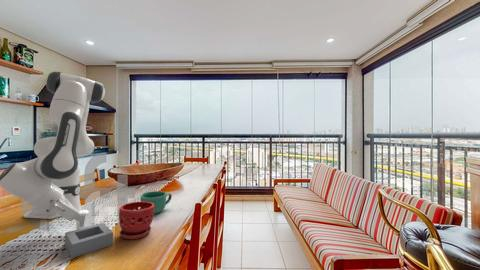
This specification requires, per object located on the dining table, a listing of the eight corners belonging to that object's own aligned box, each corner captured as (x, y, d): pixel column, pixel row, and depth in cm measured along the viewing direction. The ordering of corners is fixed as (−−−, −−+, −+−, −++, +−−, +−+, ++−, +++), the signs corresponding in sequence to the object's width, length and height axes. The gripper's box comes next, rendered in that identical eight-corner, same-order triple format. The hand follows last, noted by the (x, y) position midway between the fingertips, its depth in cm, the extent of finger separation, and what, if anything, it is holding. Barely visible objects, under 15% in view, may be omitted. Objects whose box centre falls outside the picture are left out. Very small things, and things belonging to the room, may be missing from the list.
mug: (144, 218, 101) (145, 199, 101) (137, 211, 110) (137, 193, 110) (176, 210, 112) (176, 193, 112) (167, 204, 121) (167, 188, 121)
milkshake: (77, 230, 86) (78, 206, 86) (90, 230, 87) (91, 206, 87) (69, 235, 82) (70, 210, 82) (83, 235, 82) (84, 210, 82)
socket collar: (71, 258, 67) (72, 244, 67) (64, 244, 75) (65, 232, 75) (112, 244, 76) (113, 232, 76) (102, 233, 84) (103, 222, 84)
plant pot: (151, 239, 81) (152, 209, 81) (113, 243, 77) (115, 211, 77) (155, 225, 93) (156, 199, 93) (123, 228, 89) (124, 201, 89)
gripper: (62, 196, 72) (94, 216, 79) (53, 186, 85) (81, 204, 93) (44, 212, 68) (79, 232, 76) (37, 199, 82) (68, 216, 89)
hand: (80, 216), depth 84 cm, fingers open, 8 cm apart
